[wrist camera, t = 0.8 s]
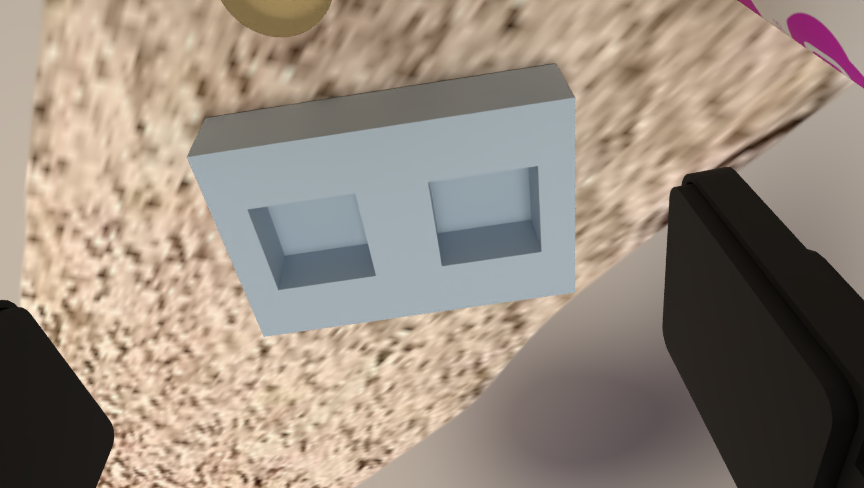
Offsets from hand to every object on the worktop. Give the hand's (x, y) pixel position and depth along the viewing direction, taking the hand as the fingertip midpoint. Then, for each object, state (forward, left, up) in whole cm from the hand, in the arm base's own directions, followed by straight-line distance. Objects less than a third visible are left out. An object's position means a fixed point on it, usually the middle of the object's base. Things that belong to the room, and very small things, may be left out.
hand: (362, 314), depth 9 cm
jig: (+13, -1, -24) cm, 27 cm away
